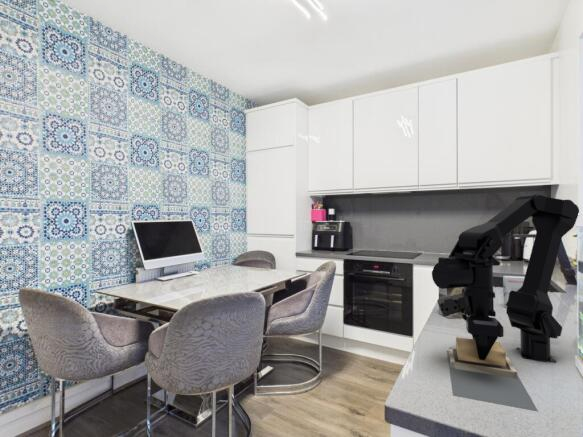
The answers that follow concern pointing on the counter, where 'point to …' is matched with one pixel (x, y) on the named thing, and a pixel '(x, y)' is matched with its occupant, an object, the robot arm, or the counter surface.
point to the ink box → (511, 286)
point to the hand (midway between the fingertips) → (479, 354)
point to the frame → (483, 367)
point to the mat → (489, 386)
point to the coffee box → (447, 293)
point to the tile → (469, 352)
